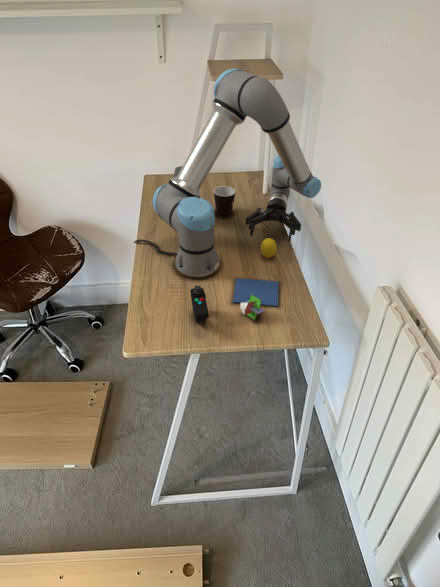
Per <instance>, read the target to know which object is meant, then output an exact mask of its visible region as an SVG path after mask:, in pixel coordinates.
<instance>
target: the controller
mask: <svg viewBox="0 0 440 587" xmlns="http://www.w3.org/2000/svg"><path fill="white" fill-rule="evenodd" d="M190 298H191V306H192V314H193V318H194V322H195V323H197V324H203V323H205V322H207V319H209V318H210V315H209V309H208V308H209V307H208V304H207V295H206V292H205V290H204V288H203V287H202V286H201V285H195V286H194V287H193V288H191V289H190Z"/></svg>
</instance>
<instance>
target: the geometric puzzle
mask: <svg viewBox="0 0 440 587" xmlns="http://www.w3.org/2000/svg"><path fill="white" fill-rule="evenodd" d="M261 302H262V299H258V298H257V297H255V296H253V295H252V294H251V295H250V298H249V301H246V302H242V303H240V304H239V305H240V311H241V312H242V314H243V316H247V317H248V318H250V319H253V320H254V321H256V320H257V318H258V317H257V316H258V315H259V314H261V313H262V314H263V313H264V312H265V313H266V309H264V308H262V307H261ZM263 307H265V306H264V305H263ZM262 314H261V315H262ZM261 315H260V316H259V317H261Z"/></svg>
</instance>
